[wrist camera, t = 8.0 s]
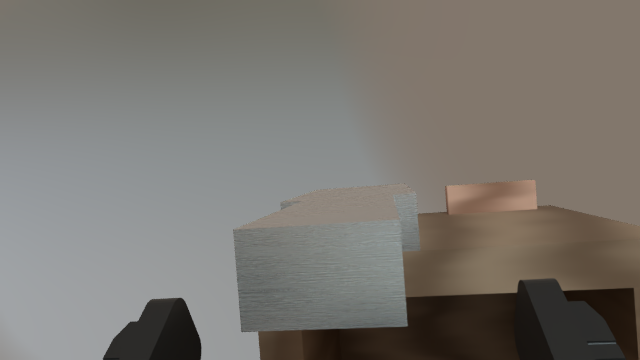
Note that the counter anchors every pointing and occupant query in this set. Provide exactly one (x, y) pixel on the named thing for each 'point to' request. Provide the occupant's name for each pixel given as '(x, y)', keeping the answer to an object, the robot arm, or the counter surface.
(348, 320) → the gray brushed-metal block
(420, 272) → the tall wood-grain block
